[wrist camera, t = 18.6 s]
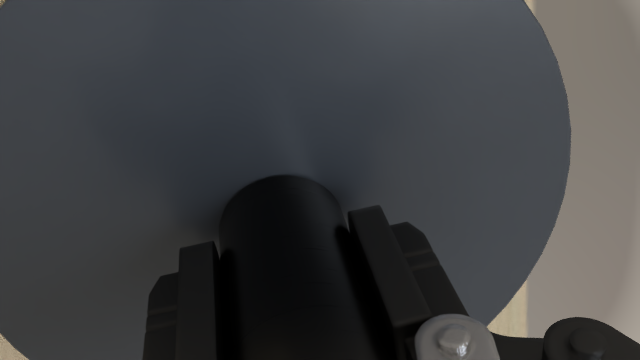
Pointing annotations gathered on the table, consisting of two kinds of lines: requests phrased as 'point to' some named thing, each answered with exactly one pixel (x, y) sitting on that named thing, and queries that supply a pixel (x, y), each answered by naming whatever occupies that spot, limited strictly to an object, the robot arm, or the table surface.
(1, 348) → the table surface
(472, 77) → the lid
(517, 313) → the table surface
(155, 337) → the robot arm
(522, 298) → the table surface
